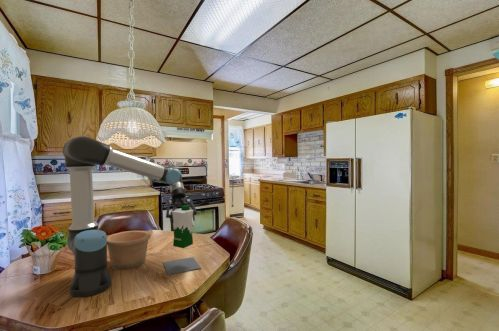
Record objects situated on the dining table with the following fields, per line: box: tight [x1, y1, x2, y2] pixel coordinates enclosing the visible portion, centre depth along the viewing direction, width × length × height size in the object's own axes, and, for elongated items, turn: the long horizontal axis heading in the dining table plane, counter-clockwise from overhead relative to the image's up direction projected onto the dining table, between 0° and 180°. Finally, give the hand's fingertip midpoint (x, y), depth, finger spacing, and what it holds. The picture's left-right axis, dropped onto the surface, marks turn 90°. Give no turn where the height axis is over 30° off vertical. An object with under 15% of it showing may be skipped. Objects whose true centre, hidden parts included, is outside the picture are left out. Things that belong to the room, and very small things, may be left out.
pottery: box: [106, 230, 151, 270], centre depth 134 cm, size 22×22×14 cm
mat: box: [162, 256, 202, 276], centre depth 130 cm, size 16×16×1 cm
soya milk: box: [171, 204, 194, 249], centre depth 130 cm, size 9×9×20 cm
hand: (184, 227), depth 128 cm, fingers closed on soya milk, 8 cm apart
